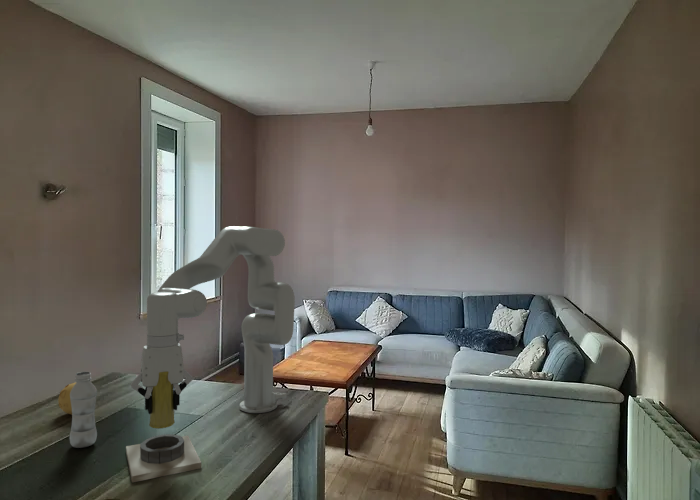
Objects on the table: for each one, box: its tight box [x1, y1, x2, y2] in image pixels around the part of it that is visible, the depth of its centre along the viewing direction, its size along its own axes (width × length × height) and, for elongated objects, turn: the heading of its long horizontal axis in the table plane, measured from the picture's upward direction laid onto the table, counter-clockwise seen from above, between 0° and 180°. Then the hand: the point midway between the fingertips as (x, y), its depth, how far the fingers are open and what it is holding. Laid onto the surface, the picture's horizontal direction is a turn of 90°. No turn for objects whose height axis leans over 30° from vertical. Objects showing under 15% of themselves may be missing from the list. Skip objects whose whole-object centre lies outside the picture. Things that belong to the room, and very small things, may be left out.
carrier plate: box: [125, 433, 202, 483], centre depth 129 cm, size 16×18×4 cm
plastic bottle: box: [69, 371, 98, 449], centre depth 136 cm, size 6×7×20 cm
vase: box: [149, 371, 176, 430], centre depth 128 cm, size 6×6×14 cm
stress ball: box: [57, 382, 76, 416], centre depth 159 cm, size 10×10×10 cm
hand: (162, 409), depth 129 cm, fingers closed on vase, 5 cm apart
